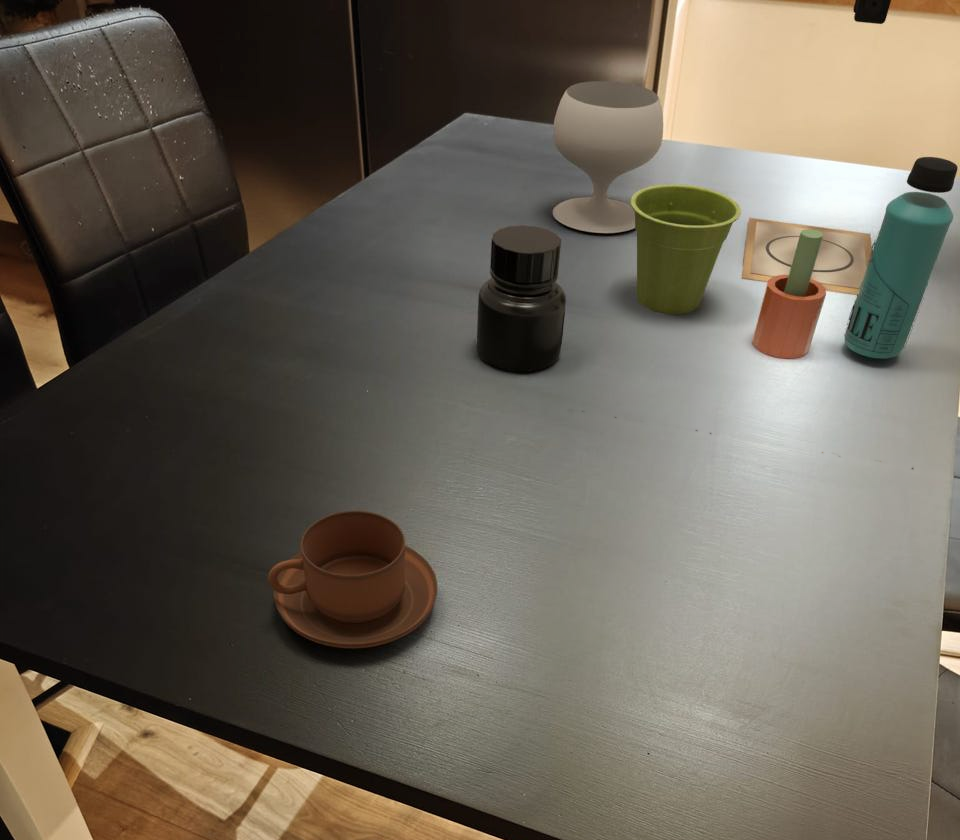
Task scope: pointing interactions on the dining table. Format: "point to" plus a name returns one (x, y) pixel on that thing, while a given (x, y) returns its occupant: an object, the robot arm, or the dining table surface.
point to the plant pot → (678, 243)
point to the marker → (803, 262)
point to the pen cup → (787, 319)
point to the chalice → (605, 147)
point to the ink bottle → (522, 300)
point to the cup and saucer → (354, 582)
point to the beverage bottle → (902, 262)
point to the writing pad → (834, 264)
